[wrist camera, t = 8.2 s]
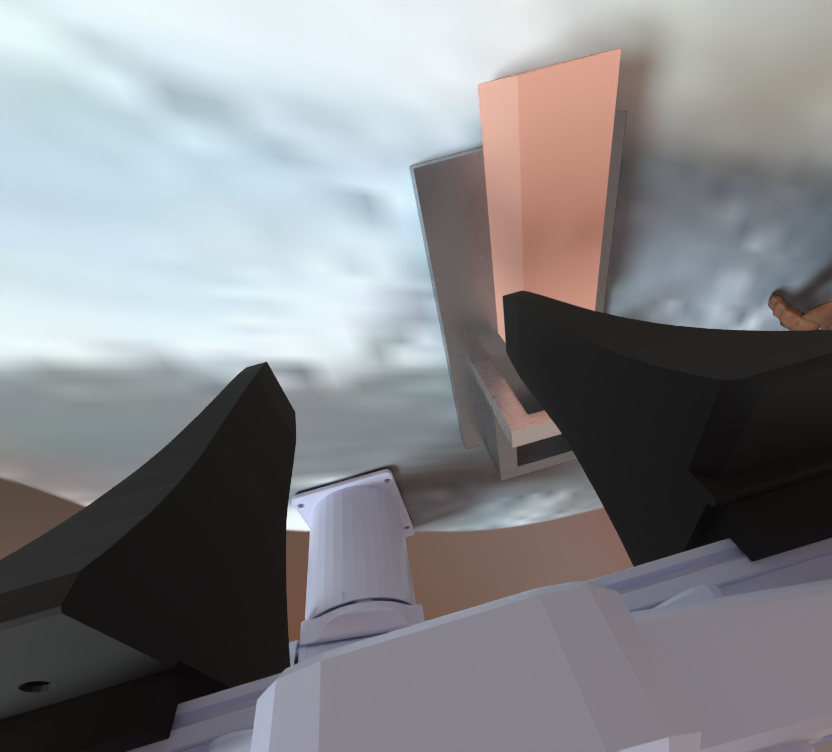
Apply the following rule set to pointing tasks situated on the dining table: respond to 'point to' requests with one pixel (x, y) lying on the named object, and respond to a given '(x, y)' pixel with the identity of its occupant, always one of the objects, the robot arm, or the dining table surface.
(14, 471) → the dining table surface
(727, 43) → the dining table surface
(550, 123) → the copper rectangular block
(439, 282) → the dispenser
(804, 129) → the dining table surface
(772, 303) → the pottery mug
